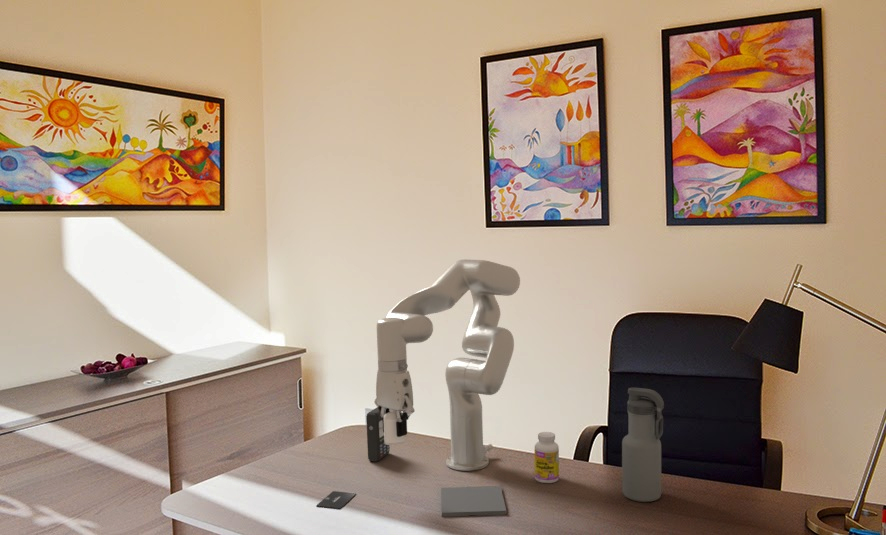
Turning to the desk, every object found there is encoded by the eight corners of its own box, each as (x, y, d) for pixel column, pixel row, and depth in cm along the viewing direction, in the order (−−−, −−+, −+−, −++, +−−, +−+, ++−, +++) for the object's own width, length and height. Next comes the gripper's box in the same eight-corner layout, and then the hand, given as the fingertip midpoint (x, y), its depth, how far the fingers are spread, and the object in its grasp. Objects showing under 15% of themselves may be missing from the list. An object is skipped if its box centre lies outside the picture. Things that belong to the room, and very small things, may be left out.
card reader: (378, 463, 221) (377, 414, 219) (366, 461, 222) (364, 413, 221) (391, 453, 229) (389, 406, 228) (379, 452, 231) (378, 405, 229)
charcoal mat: (441, 491, 198) (440, 487, 198) (500, 489, 198) (500, 485, 198) (441, 516, 182) (441, 512, 182) (506, 514, 182) (506, 510, 182)
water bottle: (666, 492, 193) (666, 387, 191) (658, 506, 185) (658, 396, 182) (627, 486, 198) (627, 383, 196) (618, 499, 190) (617, 392, 187)
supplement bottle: (532, 482, 202) (531, 436, 201) (538, 474, 209) (537, 429, 207) (556, 485, 200) (555, 439, 199) (561, 476, 206) (561, 431, 205)
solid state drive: (315, 508, 190) (315, 505, 190) (333, 493, 200) (333, 490, 199) (340, 510, 188) (340, 508, 188) (356, 495, 197) (356, 493, 197)
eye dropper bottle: (401, 446, 191) (400, 401, 190) (382, 444, 193) (380, 400, 192) (408, 441, 195) (406, 397, 194) (388, 439, 197) (387, 395, 196)
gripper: (425, 367, 189) (427, 436, 191) (382, 358, 201) (384, 423, 203) (404, 372, 184) (406, 443, 185) (360, 363, 196) (363, 430, 197)
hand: (395, 432), depth 194 cm, fingers closed on eye dropper bottle, 4 cm apart
